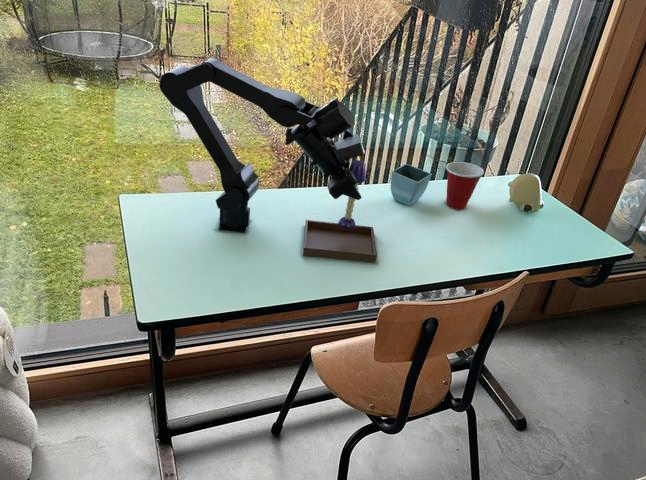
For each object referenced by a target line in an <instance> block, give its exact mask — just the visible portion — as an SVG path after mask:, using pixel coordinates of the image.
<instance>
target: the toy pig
mask: <svg viewBox="0 0 646 480" xmlns="http://www.w3.org/2000/svg"><path fill="white" fill-rule="evenodd" d="M507 186H508V187H509V188H508V189H509V198H508V202H509V203H513V204H514V205H515V206H516V207H519V209H520V211H521V212H523V213H526V214H534V213H537V212H539V211H540V210H541V209H543V208H544V206H545V203H544V201H543V200H542V184H541V179H540V177H539V176H538V175H537V174H535V173H522V174H519V175H517V176H515V178H514V179H513V180H512V181H509V182H508V183H507Z"/></svg>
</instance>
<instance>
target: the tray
mask: <svg viewBox="0 0 646 480" xmlns="http://www.w3.org/2000/svg"><path fill="white" fill-rule="evenodd" d="M302 256H303V257H310V258H320V259H331V260H340V261H351V262H360V263H370V264H376V263H377V257H378V253H377V246H376V237H375V230H374V226H369V225H368V226H367V225H358V224H355V228H353V229H344V228H342V227H340V226H339V224H338V222H330V221H320V220H311V219H305V223H304V235H303V251H302Z"/></svg>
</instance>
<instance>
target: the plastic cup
mask: <svg viewBox="0 0 646 480" xmlns="http://www.w3.org/2000/svg"><path fill="white" fill-rule="evenodd" d="M445 169H446V173H447V182H446V183H447V184H446V198H445V200H446V203H445V204H446V206H448V207H449V208H451V209H453V210H459V211H460V210H461V211H462V210H465V208H466V207H467V206H468V203H469V201H470V199H471V198H472V196H473V193H474V191H475V189H476V187H477V185H478V183H479V181H480V180H481V177H482V176H483V175H484V173H485V171H484V169H483V168H482V167H481V166H479V165H476V164H475V163H470V162H463V161H452V162H449V163H447V164H446V165H445Z"/></svg>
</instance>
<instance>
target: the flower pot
mask: <svg viewBox="0 0 646 480" xmlns="http://www.w3.org/2000/svg"><path fill="white" fill-rule="evenodd" d="M431 177H432V173H431V172H428V171H425V170H423V169H422V168H419V167H416V166H414V165H411V164H408V163H405V164H402V165H401V166H399V167H397V168H395V169H393V170H392V171H391V174H390V193H391V196H392V198H393V200H395V201H397V202H399V203H401V204H403V205H406V206H408V207H410V206H412V205H413V204H414V203H416V202H417V201H418V200H419V199H420V198H421V197H422V196H423V195H424V193H425V192H426V190H427V188H428V185H429V183H430V181H431Z"/></svg>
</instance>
